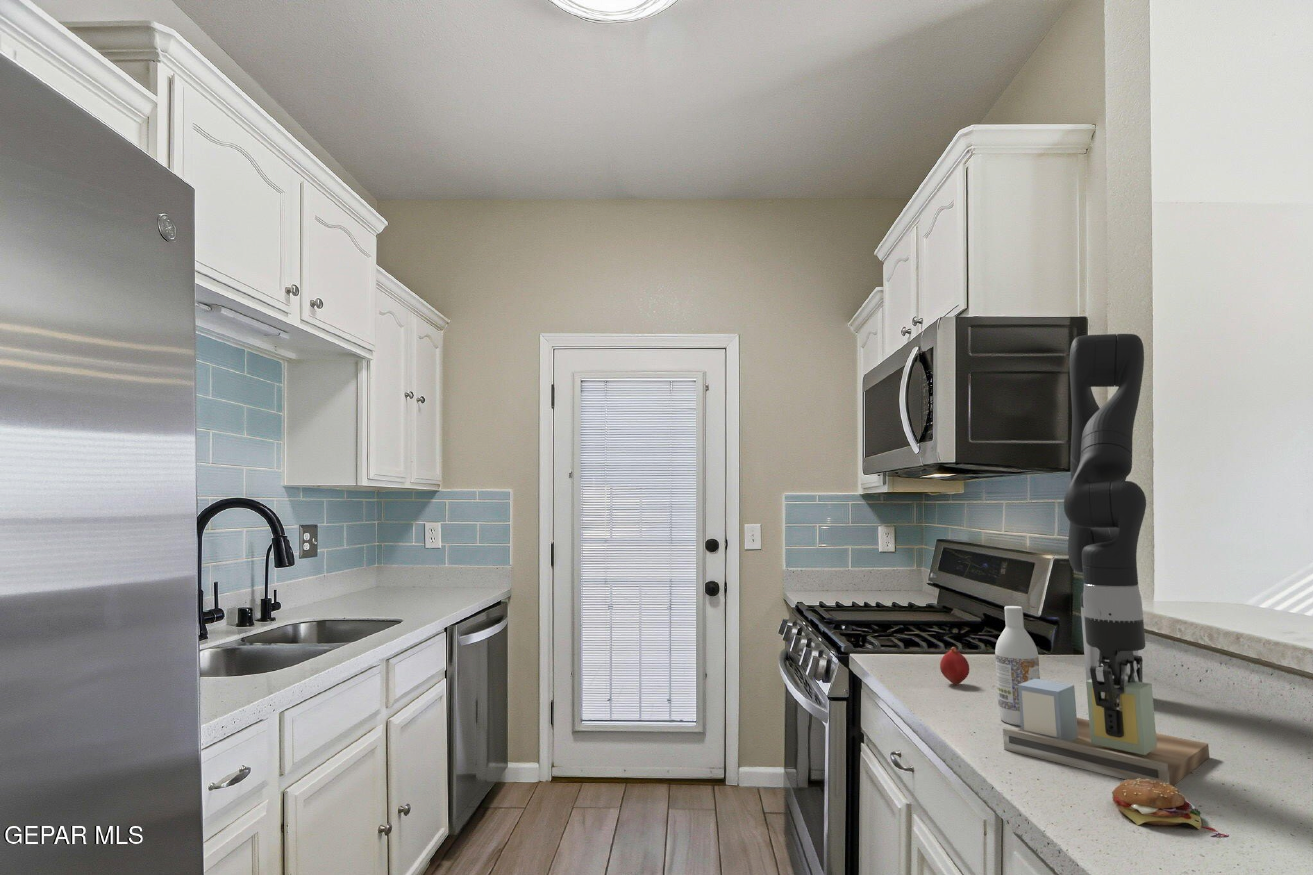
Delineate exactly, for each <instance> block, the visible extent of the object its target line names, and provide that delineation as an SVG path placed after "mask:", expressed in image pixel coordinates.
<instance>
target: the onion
mask: <svg viewBox="0 0 1313 875" xmlns="http://www.w3.org/2000/svg"><path fill="white" fill-rule="evenodd" d="M939 670H940V672H941V673H942V675H943V676H944V677H945V679H947V680H948V681H949V682H950V683H951V684H952V685H954V686H958V685H960V684H961V683H962V682H963V681H965V679H966V678H968V676H969V674H970V664H969V661H968V660H967V658H966V657H965V656H964V655H963V654H962V653H961V652H960V651H958V650H957V647H955V646H952V647H951V648H950V650H949V651H948V652H946V653H944V655H943V656H942V658H941V660H940V663H939Z"/></svg>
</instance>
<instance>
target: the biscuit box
mask: <svg viewBox="0 0 1313 875" xmlns="http://www.w3.org/2000/svg"><path fill="white" fill-rule="evenodd" d="M1075 689H1076V688H1075V684H1070V683H1063V682H1059V681H1058V682H1057V681H1052V680H1046V679H1041V678H1040V679H1032V680H1030V681H1027V682H1024V683H1021V684H1019V685H1018V693H1019V708H1020V723H1021V726H1020V729H1021V731H1023V732H1027V733H1032V734H1036V735H1041V736H1045V737H1050V738H1054V739H1059V740H1063V741H1068V742H1071V741H1073V740H1075V739H1076V738H1078V728H1077V718H1078V717H1077V704H1076V693H1075V691H1076V690H1075Z"/></svg>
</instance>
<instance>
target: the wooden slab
mask: <svg viewBox="0 0 1313 875" xmlns="http://www.w3.org/2000/svg"><path fill="white" fill-rule="evenodd" d="M1077 728H1078V738H1076V739H1075V740H1073V741H1071V742H1068V741H1063V740H1059V739H1054V738H1050V737H1045V736H1041V735H1036V734H1032V733H1027V732H1023V731H1021V728H1019V729H1013V728H1009V727H1003V728H1002V733H1003V734H1002V735H1003V750H1005V751H1008V752H1011V753H1012V752H1013V753H1017V754H1021V755H1025V756H1028V757H1033V758H1036V759H1041V760H1045V761H1049V762H1054V763H1058V764H1062V765H1066V766H1070V767H1074V768H1078V769H1082V770H1086V771H1090V772H1094V773H1098V774H1103V775H1106V776H1110V777H1115V778H1118V779H1122V780H1128V779H1129V780H1136V779H1138V778H1141V779H1144V780H1146V779H1150V780H1155V781H1159V782H1162V783H1166V784H1167V783H1168V784H1169V785H1172V786H1174V785H1176V784H1178V783H1179V782H1180V781H1181V780H1182V779H1183V778H1185V777H1186V776H1188V775H1189V774H1190V773H1192V772H1193V771H1195V769H1196V768H1197V767H1199V766H1200V765H1201V764H1203V763H1204V762H1205V761H1207V760H1208V759H1209V758H1210V749H1209V748H1210V747H1209V742H1203V741H1197V740H1193V739H1187V738H1183V737H1179V736H1174V735H1173V736H1172V735H1169V734H1162V733H1157V732H1156V741H1157V747H1156V748H1155V749H1153V750H1152V751H1150V752H1149V753H1147V754H1146V755H1142V754H1138V753H1133V752H1128V751H1124V750H1119V749H1115V748H1110V747H1106V746H1101V745H1096V744H1092V743H1091V738H1090V725H1089V719H1085V718H1082V717H1081V718H1080V717H1077ZM1207 758H1208V759H1207ZM1206 759H1207V760H1206ZM1202 762H1203V763H1202ZM1180 779H1181V780H1180ZM1175 783H1176V784H1175Z"/></svg>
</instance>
